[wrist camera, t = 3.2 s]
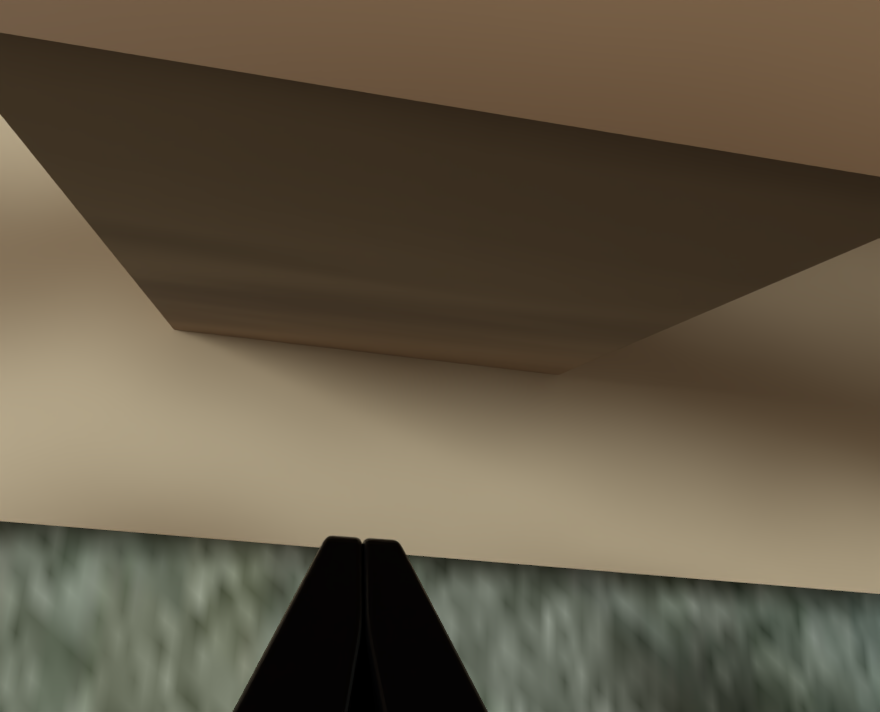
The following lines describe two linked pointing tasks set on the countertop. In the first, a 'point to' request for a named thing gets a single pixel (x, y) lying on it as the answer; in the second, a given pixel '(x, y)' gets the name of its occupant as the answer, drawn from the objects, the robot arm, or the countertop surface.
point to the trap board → (444, 426)
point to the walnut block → (453, 160)
